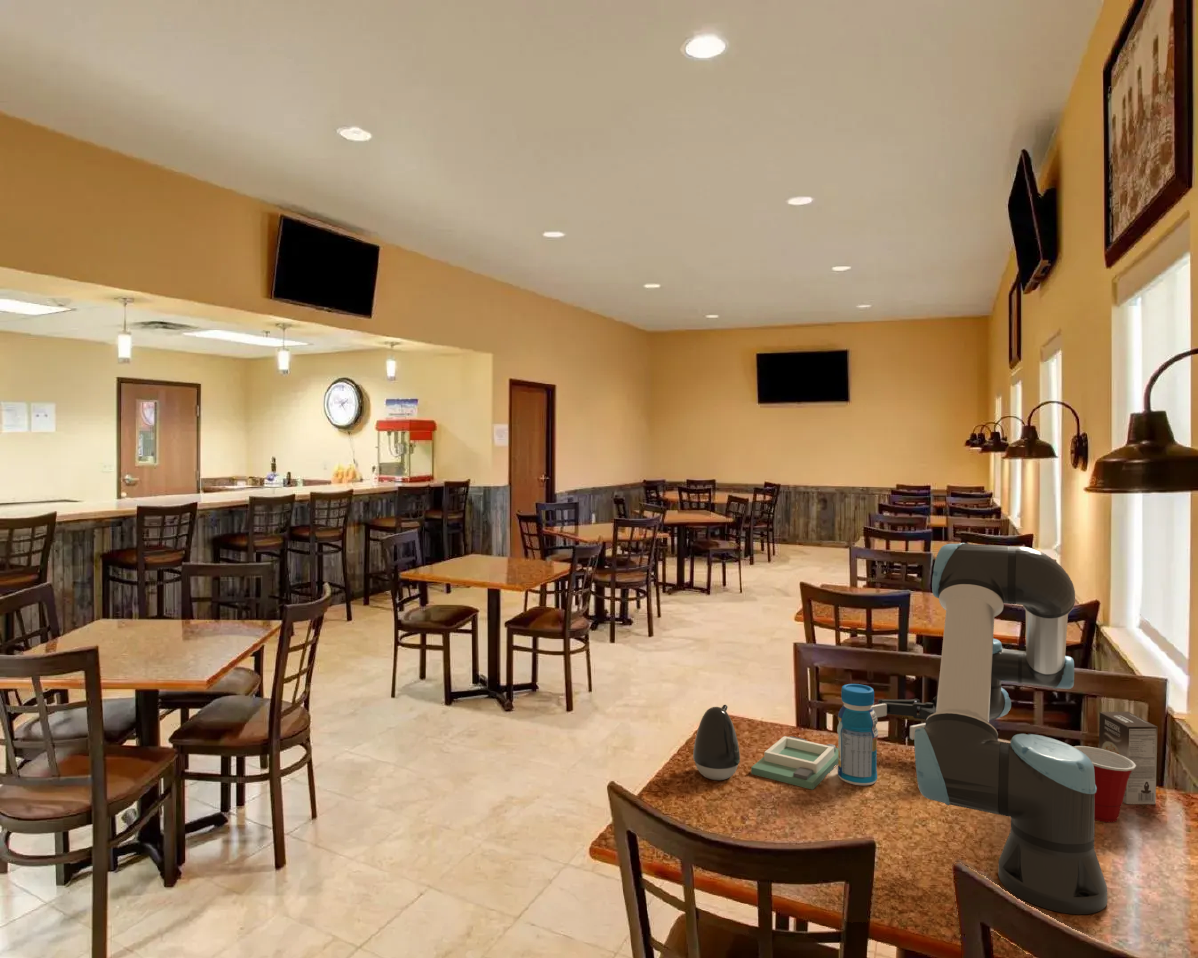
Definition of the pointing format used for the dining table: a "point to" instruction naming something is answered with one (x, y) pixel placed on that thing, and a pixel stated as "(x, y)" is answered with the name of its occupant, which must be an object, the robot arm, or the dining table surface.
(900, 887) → the dining table surface
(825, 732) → the dining table surface
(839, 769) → the beverage bottle
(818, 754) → the board
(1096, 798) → the plastic cup
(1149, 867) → the dining table surface
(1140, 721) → the coffee box
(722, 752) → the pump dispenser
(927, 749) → the robot arm
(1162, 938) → the dining table surface
